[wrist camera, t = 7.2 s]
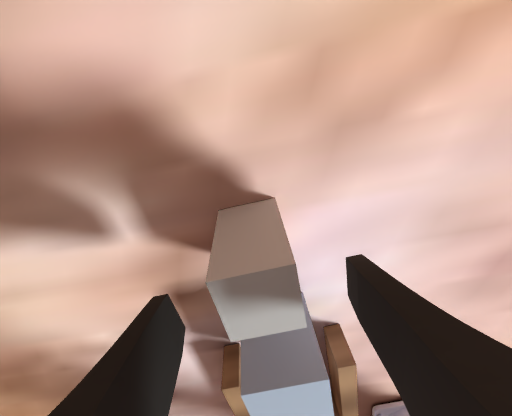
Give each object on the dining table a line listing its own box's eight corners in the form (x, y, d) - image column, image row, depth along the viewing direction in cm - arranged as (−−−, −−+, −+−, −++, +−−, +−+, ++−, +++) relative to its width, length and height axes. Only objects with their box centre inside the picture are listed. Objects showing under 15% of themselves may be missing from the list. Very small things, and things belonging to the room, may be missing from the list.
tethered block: (309, 332, 18) (335, 421, 14) (254, 343, 19) (259, 434, 14) (285, 195, 13) (312, 260, 8) (207, 212, 13) (188, 286, 8)
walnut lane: (345, 395, 23) (370, 469, 18) (253, 411, 23) (256, 488, 19) (339, 323, 18) (371, 401, 14) (224, 346, 18) (218, 428, 14)
